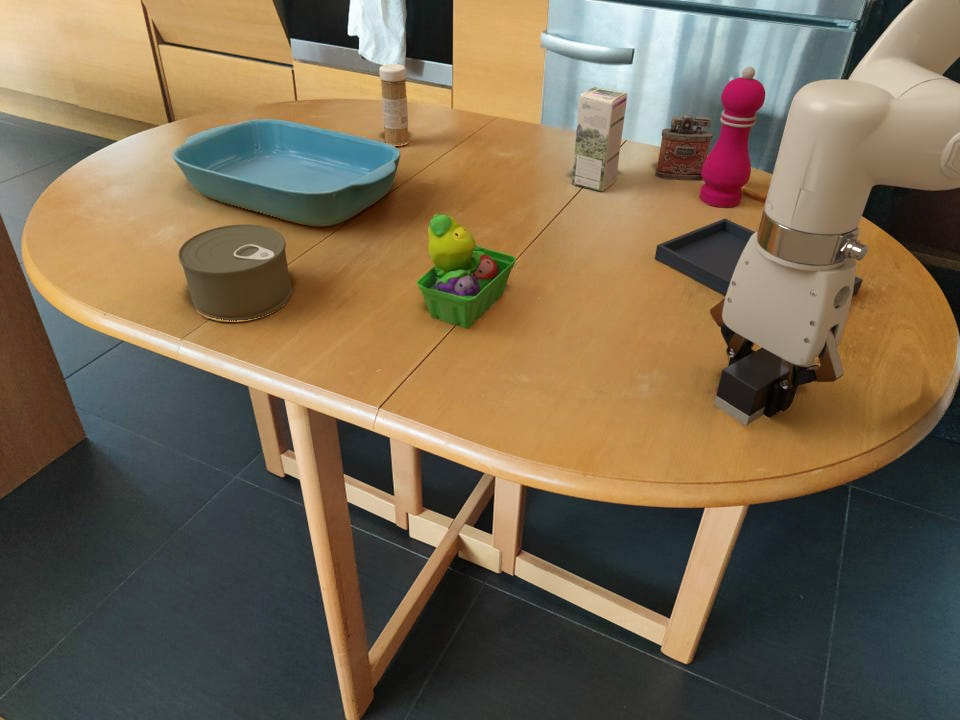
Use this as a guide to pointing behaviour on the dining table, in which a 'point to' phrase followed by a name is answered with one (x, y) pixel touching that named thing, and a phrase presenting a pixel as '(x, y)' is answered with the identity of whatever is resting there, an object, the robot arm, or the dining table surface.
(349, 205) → the casserole dish
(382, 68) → the sprinkles bottle
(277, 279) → the can
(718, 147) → the pepper mill
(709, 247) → the tray
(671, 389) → the dining table surface
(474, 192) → the dining table surface
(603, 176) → the syrup box
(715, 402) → the eraser
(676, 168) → the lighter
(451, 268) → the fruit basket
